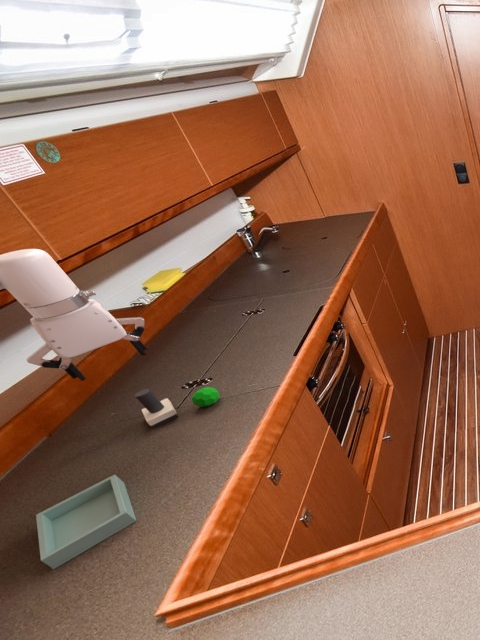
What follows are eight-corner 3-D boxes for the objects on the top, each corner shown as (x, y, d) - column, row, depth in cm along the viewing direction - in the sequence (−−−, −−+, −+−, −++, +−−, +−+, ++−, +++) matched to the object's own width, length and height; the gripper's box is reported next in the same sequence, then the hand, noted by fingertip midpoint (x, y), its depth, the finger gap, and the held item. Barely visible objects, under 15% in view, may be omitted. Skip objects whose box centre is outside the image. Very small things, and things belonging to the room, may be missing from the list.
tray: (47, 523, 82) (35, 514, 80) (124, 482, 89) (114, 474, 88) (53, 569, 74) (40, 560, 73) (136, 520, 82) (126, 512, 80)
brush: (148, 417, 105) (125, 392, 101) (173, 405, 109) (152, 381, 104) (153, 429, 102) (130, 404, 97) (179, 416, 105) (158, 392, 101)
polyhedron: (209, 396, 111) (199, 384, 109) (228, 395, 111) (218, 383, 109) (193, 411, 107) (182, 398, 104) (212, 410, 107) (201, 397, 104)
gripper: (113, 282, 94) (159, 340, 103) (-12, 321, 82) (53, 382, 90) (122, 291, 91) (169, 349, 100) (-7, 332, 78) (59, 395, 87)
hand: (113, 365), depth 95 cm, fingers open, 9 cm apart
